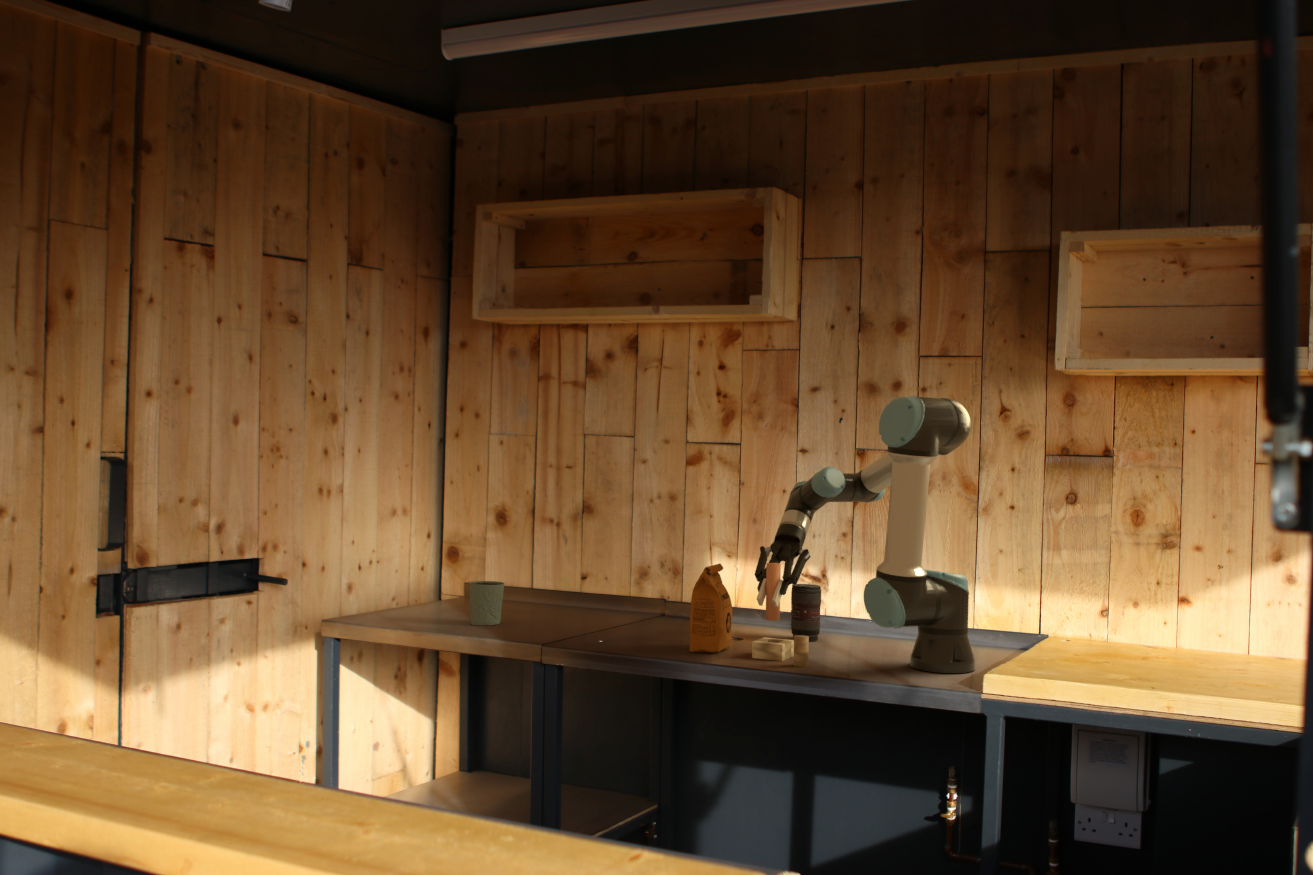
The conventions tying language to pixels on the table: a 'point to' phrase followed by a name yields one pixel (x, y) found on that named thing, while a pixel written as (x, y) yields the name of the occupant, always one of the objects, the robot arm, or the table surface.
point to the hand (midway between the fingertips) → (767, 602)
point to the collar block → (773, 649)
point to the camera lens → (806, 610)
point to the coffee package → (710, 613)
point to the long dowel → (772, 590)
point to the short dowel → (801, 651)
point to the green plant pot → (486, 602)
